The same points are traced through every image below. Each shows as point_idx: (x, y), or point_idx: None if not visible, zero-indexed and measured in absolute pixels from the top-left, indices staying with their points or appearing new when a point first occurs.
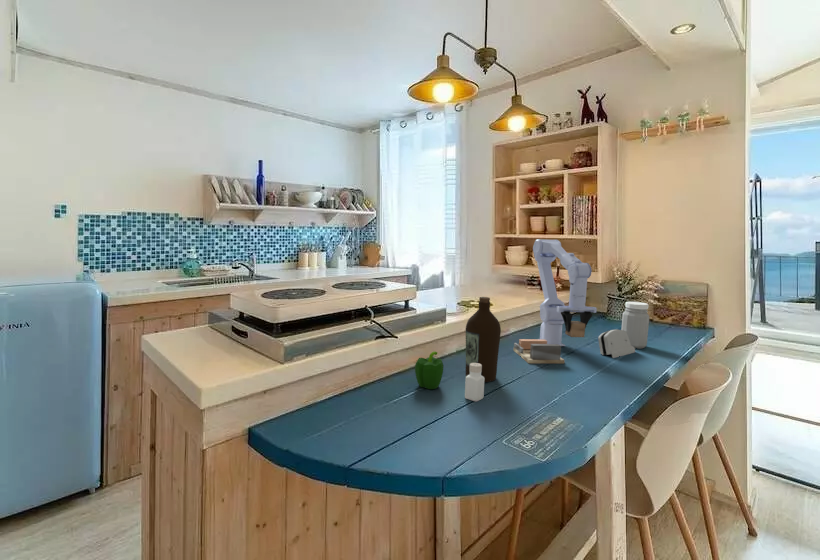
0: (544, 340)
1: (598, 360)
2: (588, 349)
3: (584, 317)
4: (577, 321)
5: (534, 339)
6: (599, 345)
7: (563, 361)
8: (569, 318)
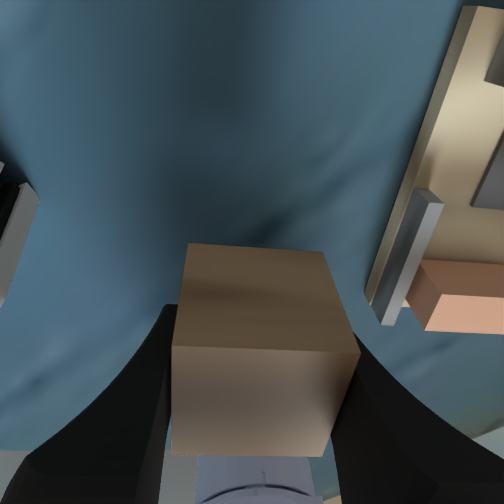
0: (448, 308)
1: (125, 62)
2: (78, 304)
3: (152, 459)
4: (200, 442)
5: (496, 330)
6: (20, 251)
7: (479, 8)
8: (422, 428)
